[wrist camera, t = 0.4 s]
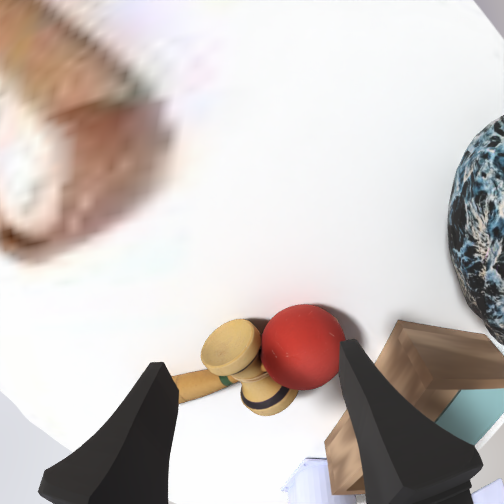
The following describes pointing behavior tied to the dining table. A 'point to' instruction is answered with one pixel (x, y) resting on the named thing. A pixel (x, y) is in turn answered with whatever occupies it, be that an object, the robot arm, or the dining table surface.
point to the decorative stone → (480, 226)
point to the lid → (472, 413)
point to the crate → (417, 385)
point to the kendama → (268, 359)
